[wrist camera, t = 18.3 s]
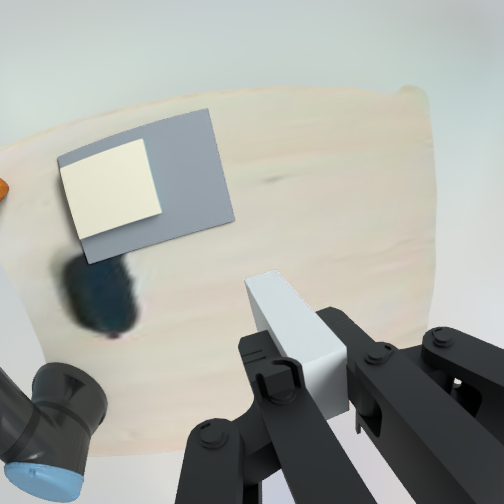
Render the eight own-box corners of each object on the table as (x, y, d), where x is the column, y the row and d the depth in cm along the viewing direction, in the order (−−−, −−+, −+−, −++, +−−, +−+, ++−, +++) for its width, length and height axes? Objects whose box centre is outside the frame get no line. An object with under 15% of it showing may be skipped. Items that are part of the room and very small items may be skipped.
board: (162, 210, 39) (84, 236, 38) (144, 139, 36) (65, 168, 35) (161, 212, 38) (79, 239, 36) (141, 138, 34) (59, 168, 33)
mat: (90, 262, 39) (89, 264, 39) (59, 157, 34) (57, 157, 34) (234, 219, 43) (235, 220, 42) (207, 109, 38) (208, 108, 37)
